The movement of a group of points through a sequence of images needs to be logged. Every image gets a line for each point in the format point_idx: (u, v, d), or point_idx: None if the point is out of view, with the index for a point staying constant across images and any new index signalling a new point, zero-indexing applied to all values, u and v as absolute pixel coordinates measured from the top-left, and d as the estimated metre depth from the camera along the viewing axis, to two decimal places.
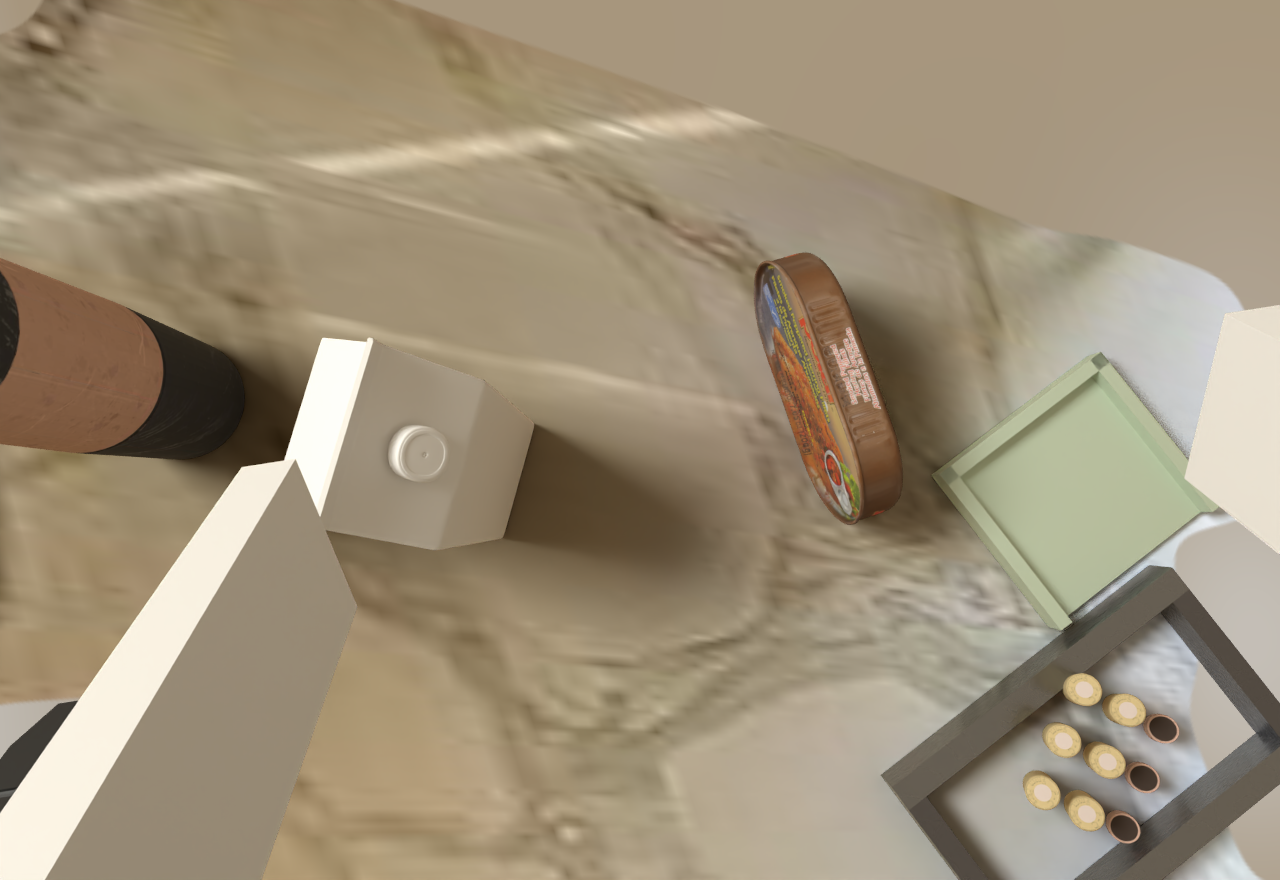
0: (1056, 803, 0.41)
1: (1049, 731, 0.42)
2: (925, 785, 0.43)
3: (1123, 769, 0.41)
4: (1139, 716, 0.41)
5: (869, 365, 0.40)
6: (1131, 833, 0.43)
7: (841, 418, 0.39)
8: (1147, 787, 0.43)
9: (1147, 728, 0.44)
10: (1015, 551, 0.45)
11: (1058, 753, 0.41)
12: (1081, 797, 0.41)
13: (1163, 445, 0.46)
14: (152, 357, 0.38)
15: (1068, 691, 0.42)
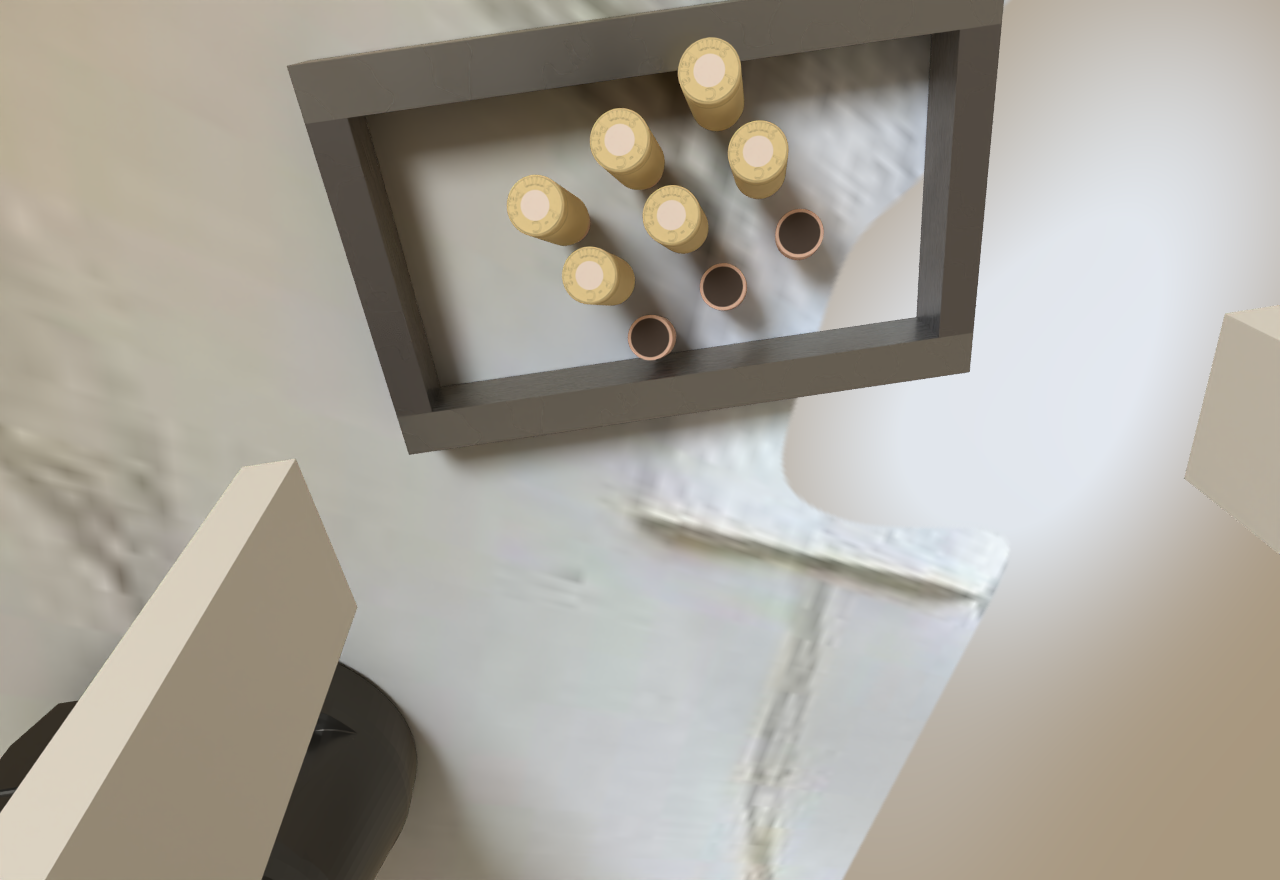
0: (545, 230, 0.22)
1: (607, 113, 0.21)
2: (354, 97, 0.22)
3: (686, 237, 0.22)
4: (767, 169, 0.22)
5: None
6: (655, 348, 0.26)
7: None
8: (718, 301, 0.26)
9: (779, 223, 0.25)
10: None
11: (598, 156, 0.21)
12: (598, 249, 0.23)
13: None
14: None
15: (682, 61, 0.21)
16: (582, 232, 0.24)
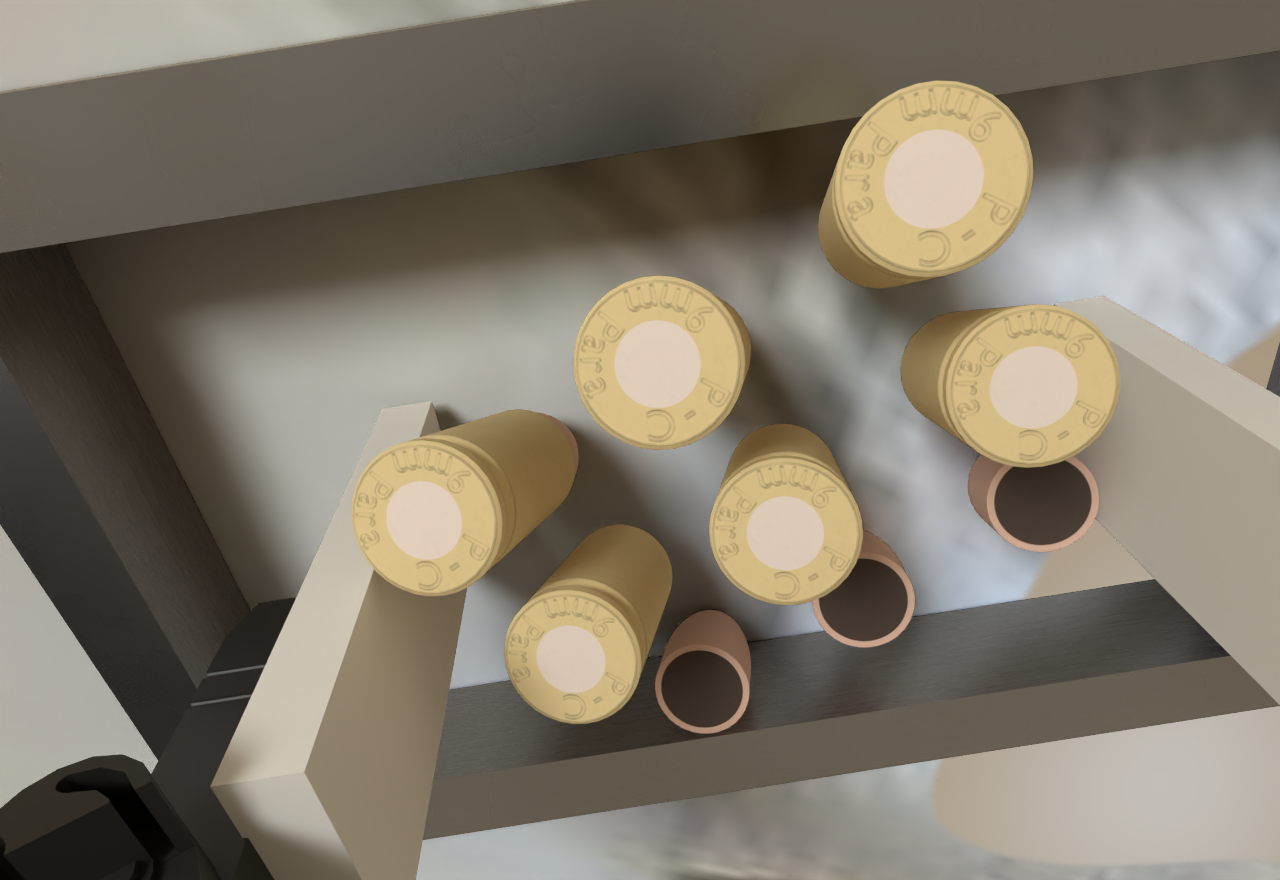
0: (450, 587, 0.08)
1: (624, 290, 0.07)
2: None
3: (822, 591, 0.09)
4: (1058, 437, 0.08)
5: None
6: (711, 711, 0.12)
7: None
8: (852, 628, 0.12)
9: (994, 474, 0.11)
10: None
11: (596, 404, 0.08)
12: (593, 597, 0.09)
13: None
14: None
15: (849, 149, 0.07)
16: (559, 504, 0.11)
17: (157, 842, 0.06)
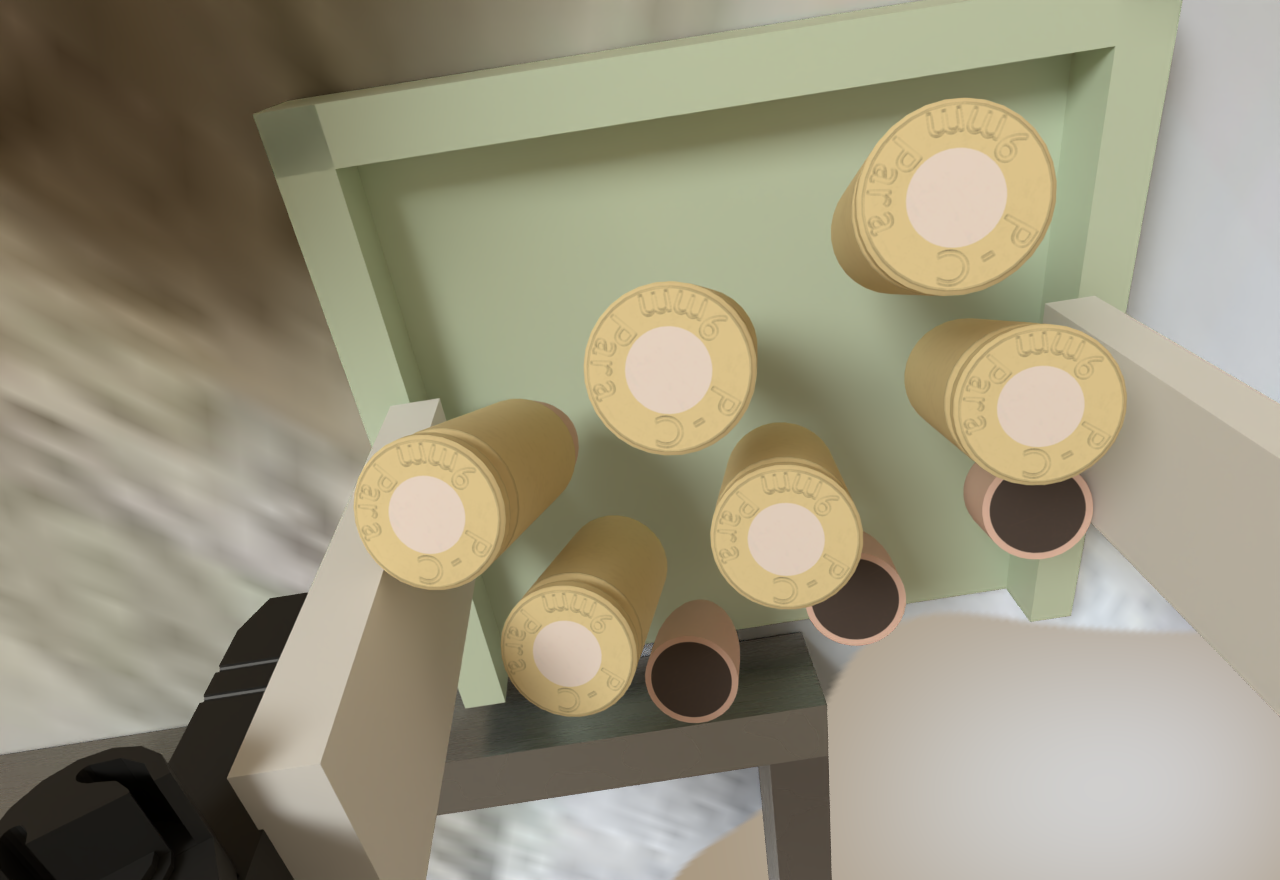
0: (451, 582, 0.08)
1: (638, 294, 0.07)
2: None
3: (820, 597, 0.09)
4: (1062, 456, 0.08)
5: None
6: (700, 702, 0.13)
7: None
8: (843, 626, 0.12)
9: (991, 481, 0.11)
10: None
11: (605, 407, 0.08)
12: (592, 593, 0.09)
13: None
14: None
15: (873, 163, 0.07)
16: (558, 495, 0.11)
17: (175, 833, 0.06)
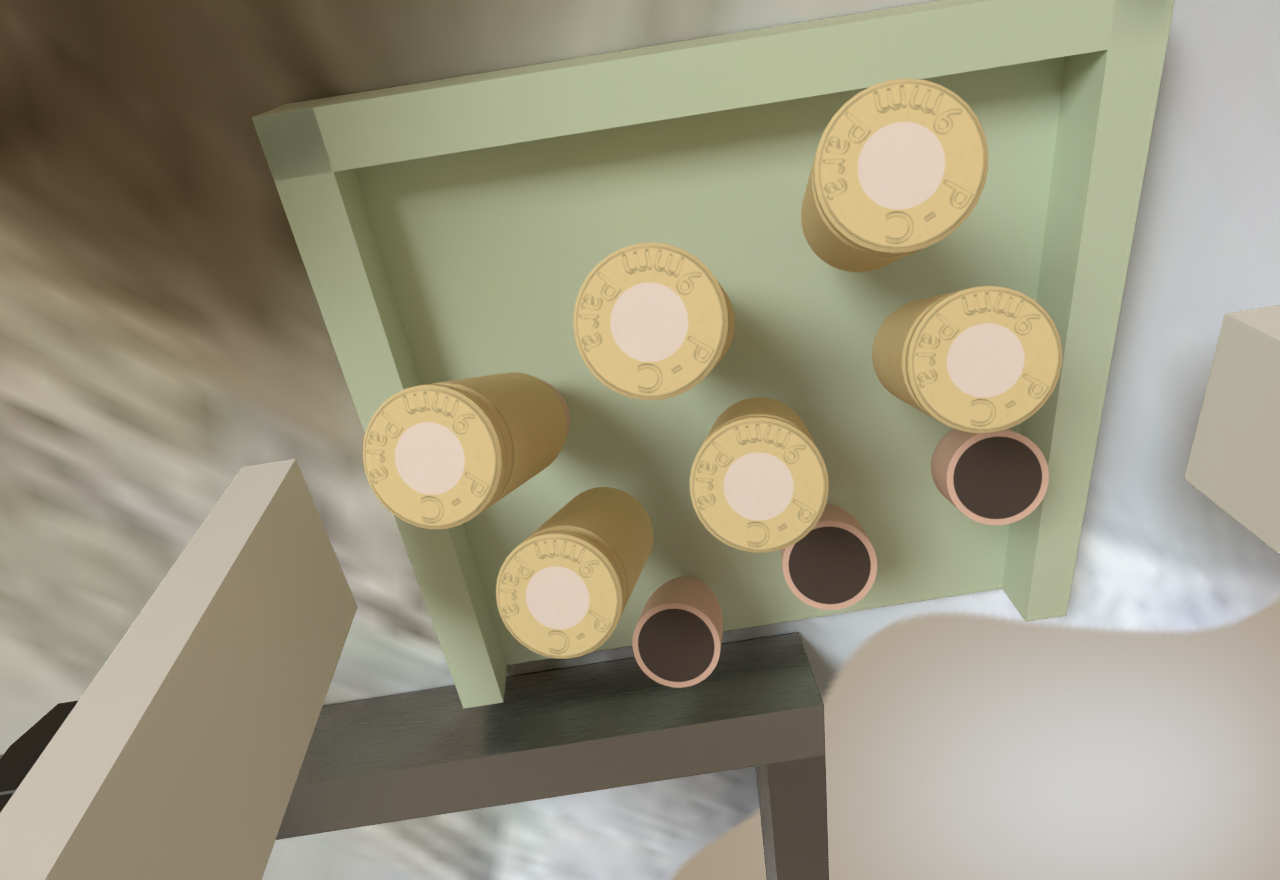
0: (451, 521, 0.09)
1: (622, 254, 0.08)
2: None
3: (790, 540, 0.09)
4: (1005, 406, 0.09)
5: None
6: (684, 666, 0.13)
7: None
8: (818, 592, 0.13)
9: (954, 452, 0.12)
10: None
11: (592, 357, 0.08)
12: (580, 541, 0.10)
13: (1067, 416, 0.13)
14: None
15: (828, 135, 0.08)
16: (550, 461, 0.12)
17: None
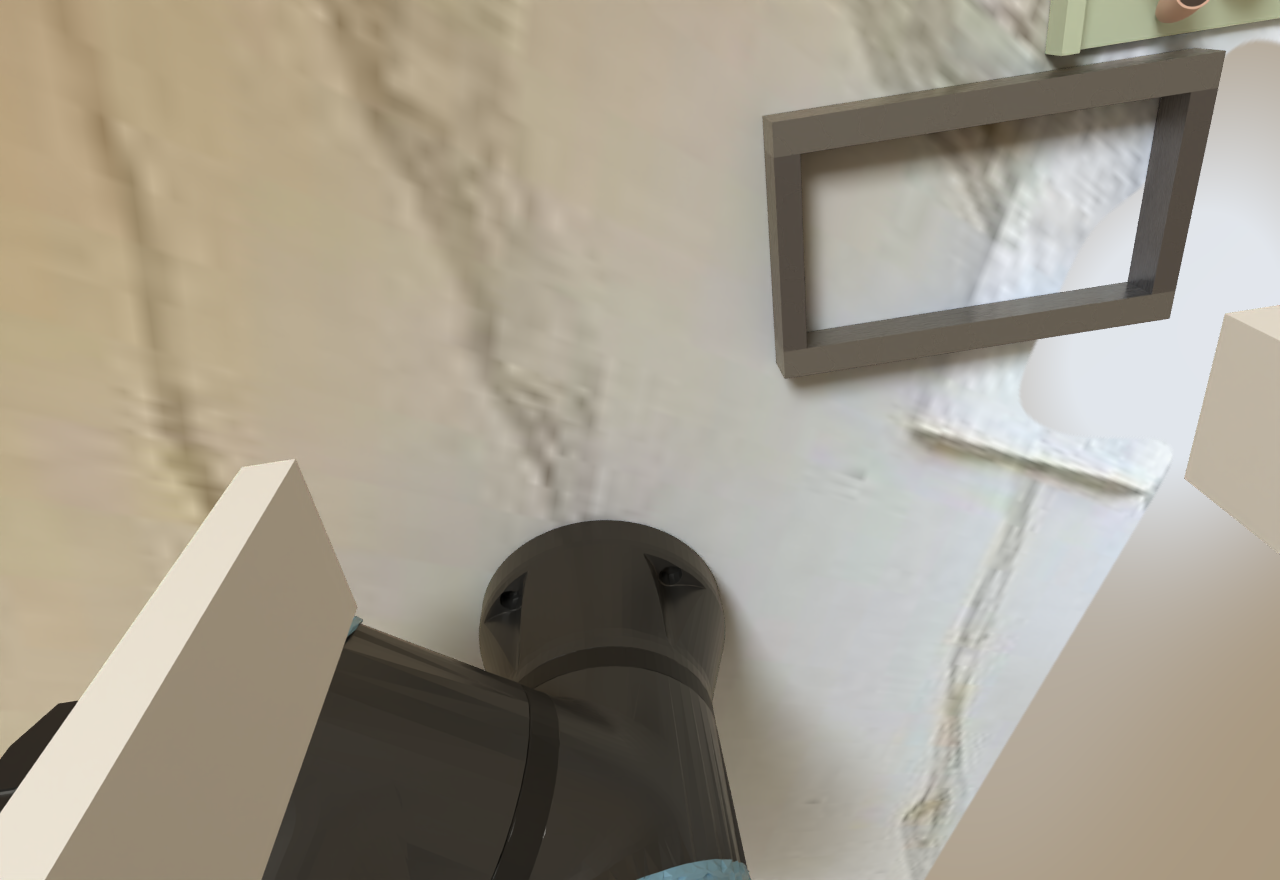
0: None
1: None
2: (807, 141, 0.35)
3: None
4: None
5: None
6: None
7: None
8: None
9: None
10: None
11: None
12: None
13: None
14: None
15: None
16: None
17: None
